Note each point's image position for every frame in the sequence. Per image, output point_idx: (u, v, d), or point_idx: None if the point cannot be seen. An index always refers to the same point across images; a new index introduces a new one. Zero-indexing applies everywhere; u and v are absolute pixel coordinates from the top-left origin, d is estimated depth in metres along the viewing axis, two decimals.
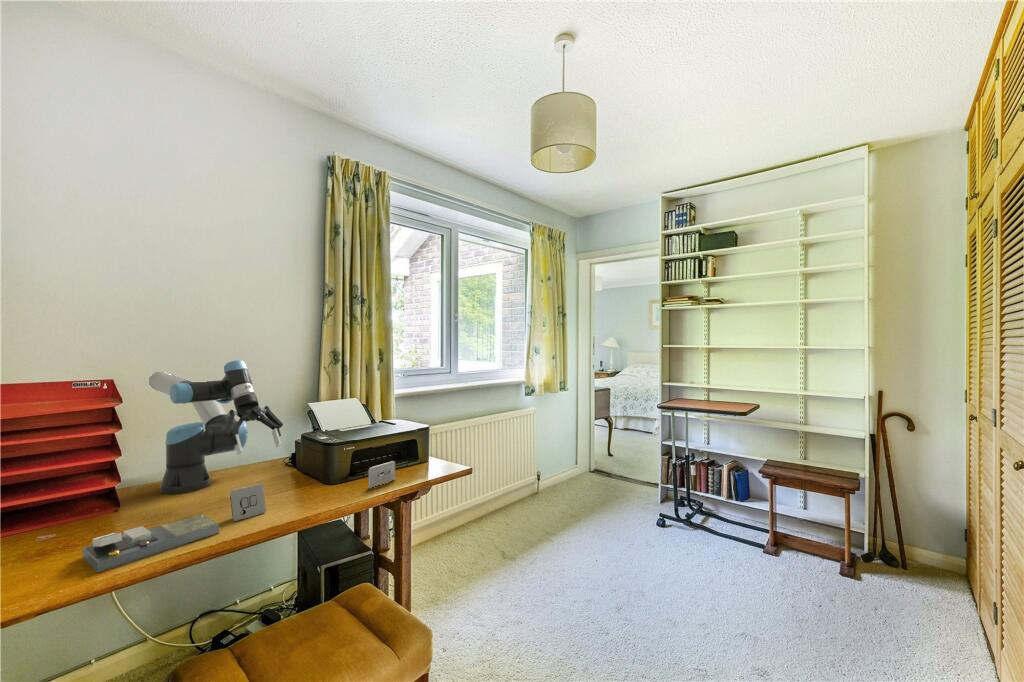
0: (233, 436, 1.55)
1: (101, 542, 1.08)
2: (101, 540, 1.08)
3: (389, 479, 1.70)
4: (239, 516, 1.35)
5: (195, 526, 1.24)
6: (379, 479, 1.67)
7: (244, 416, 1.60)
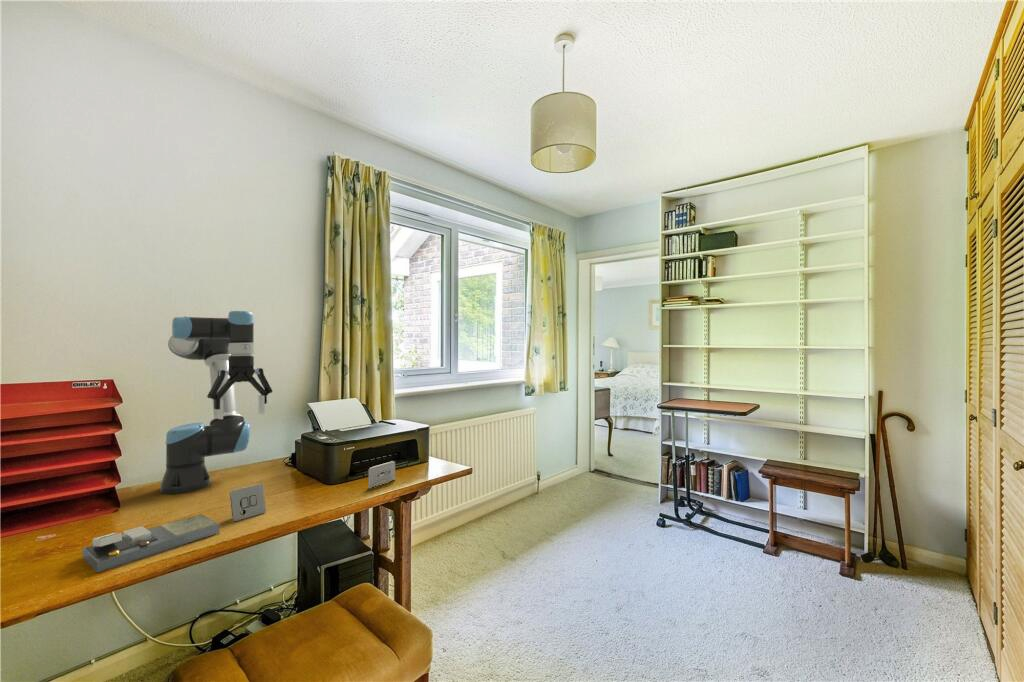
0: (217, 400, 1.47)
1: (101, 542, 1.08)
2: (101, 540, 1.08)
3: (389, 479, 1.70)
4: (239, 516, 1.35)
5: (195, 526, 1.24)
6: (379, 479, 1.67)
7: (234, 379, 1.50)
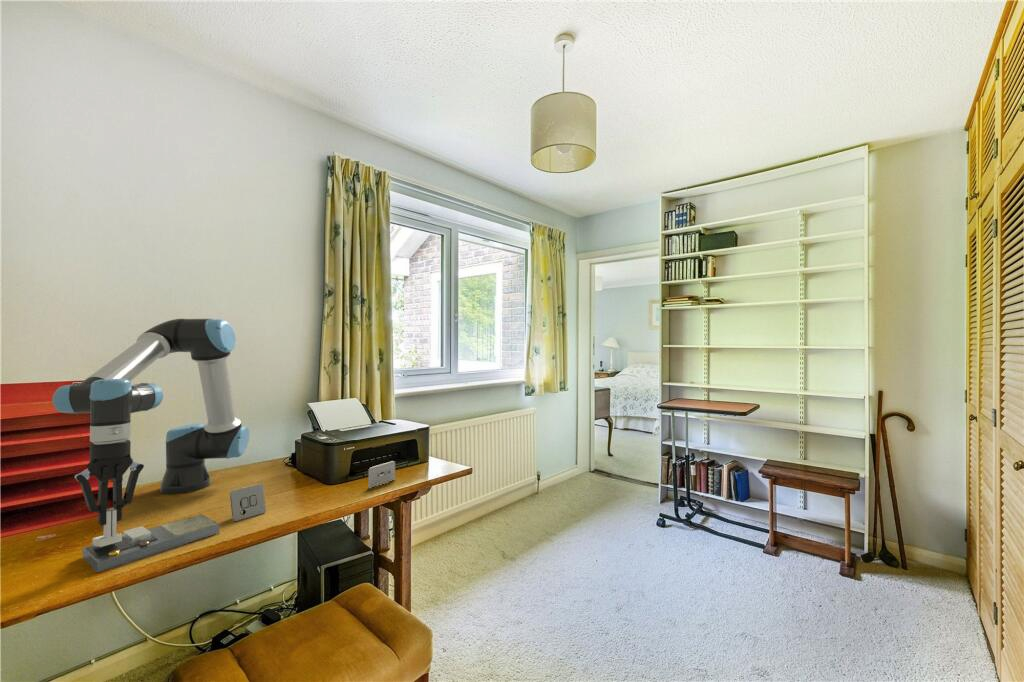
0: (106, 512, 1.08)
1: (101, 543, 1.08)
2: (101, 541, 1.08)
3: (389, 479, 1.70)
4: (239, 516, 1.35)
5: (195, 526, 1.24)
6: (379, 479, 1.67)
7: (105, 479, 1.08)
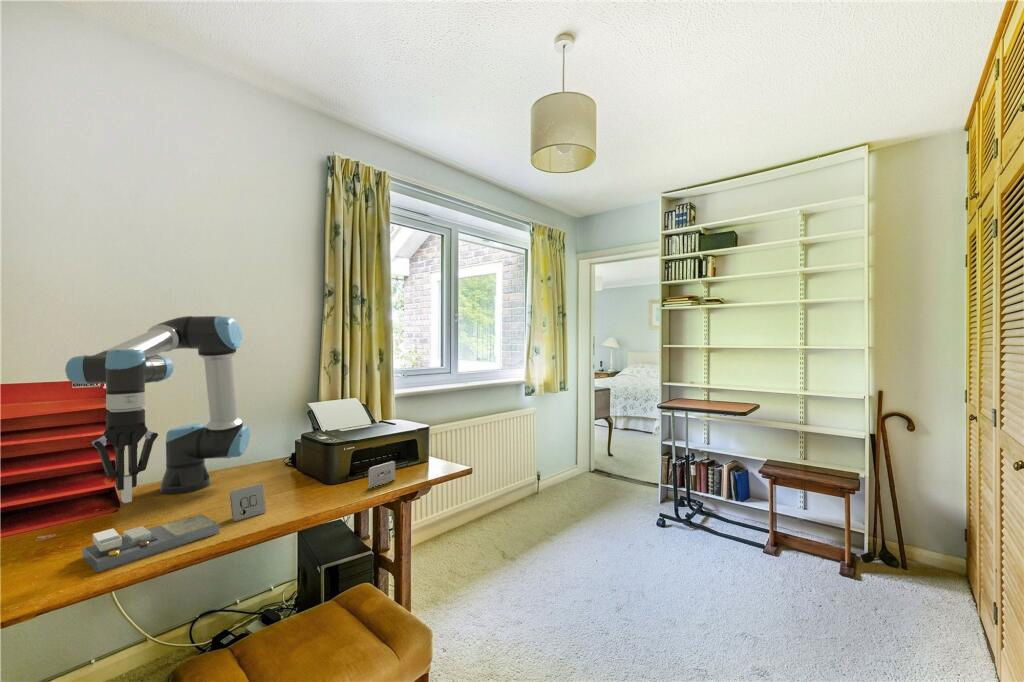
0: (123, 477, 1.12)
1: (101, 547, 1.08)
2: (101, 546, 1.08)
3: (389, 479, 1.70)
4: (239, 516, 1.35)
5: (195, 526, 1.24)
6: (379, 479, 1.67)
7: (122, 446, 1.11)
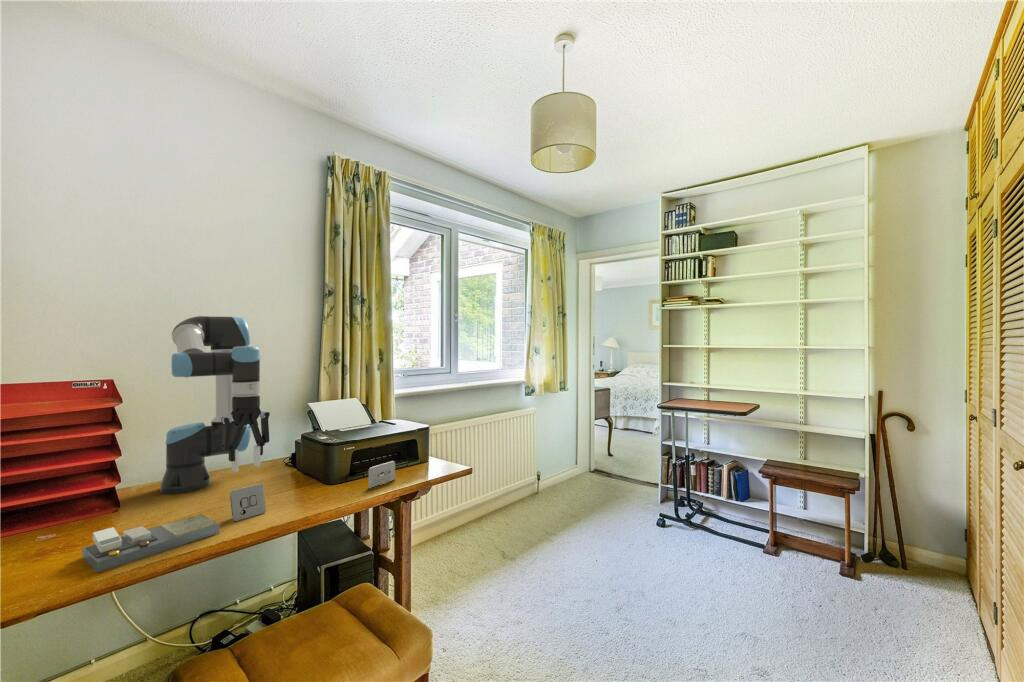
0: (234, 451, 1.35)
1: (101, 549, 1.08)
2: (101, 547, 1.08)
3: (389, 479, 1.70)
4: (239, 516, 1.35)
5: (195, 526, 1.24)
6: (379, 479, 1.67)
7: (242, 424, 1.36)
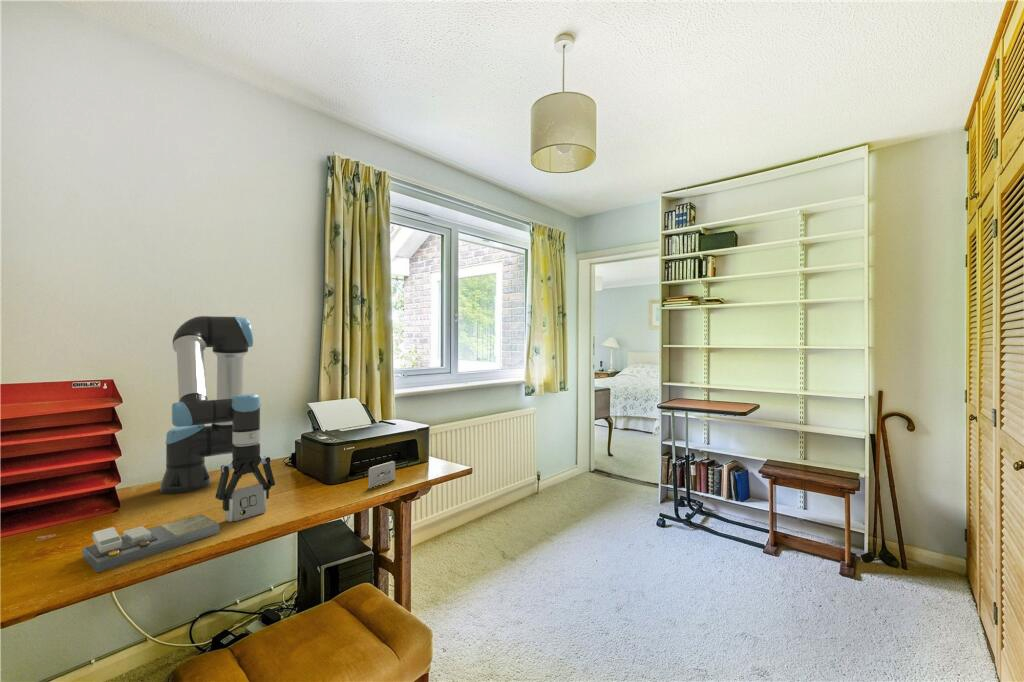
0: (227, 501, 1.33)
1: (101, 549, 1.08)
2: (101, 548, 1.08)
3: (389, 479, 1.70)
4: (239, 516, 1.34)
5: (195, 526, 1.24)
6: (379, 479, 1.67)
7: (240, 473, 1.35)
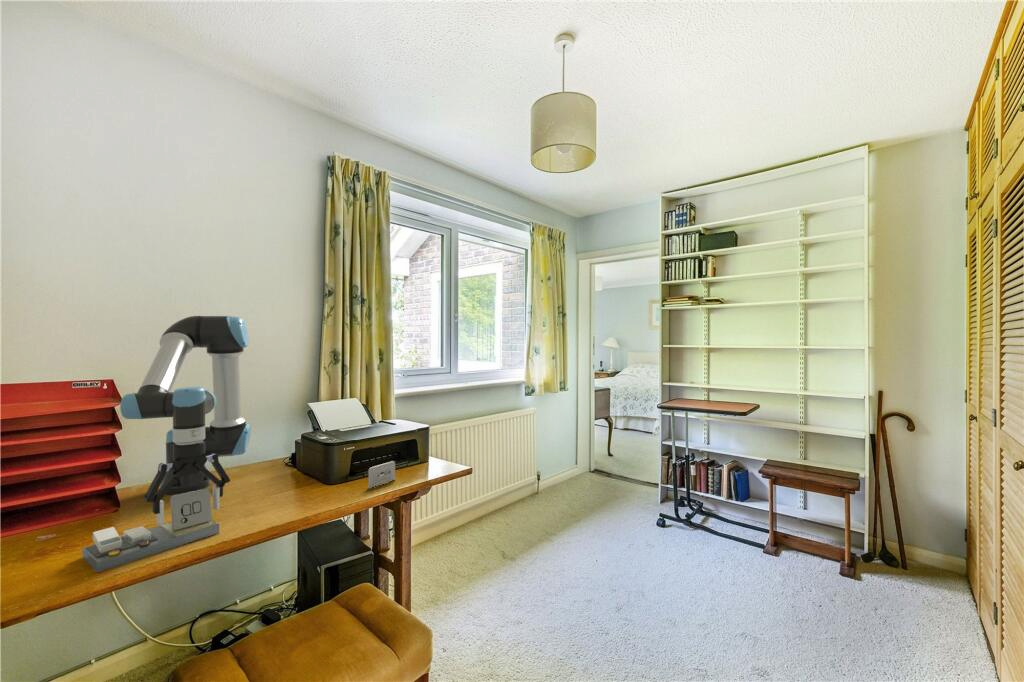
0: (156, 503, 1.18)
1: (101, 549, 1.08)
2: (101, 548, 1.08)
3: (389, 479, 1.70)
4: (179, 525, 1.21)
5: (195, 526, 1.24)
6: (379, 479, 1.67)
7: (179, 474, 1.22)
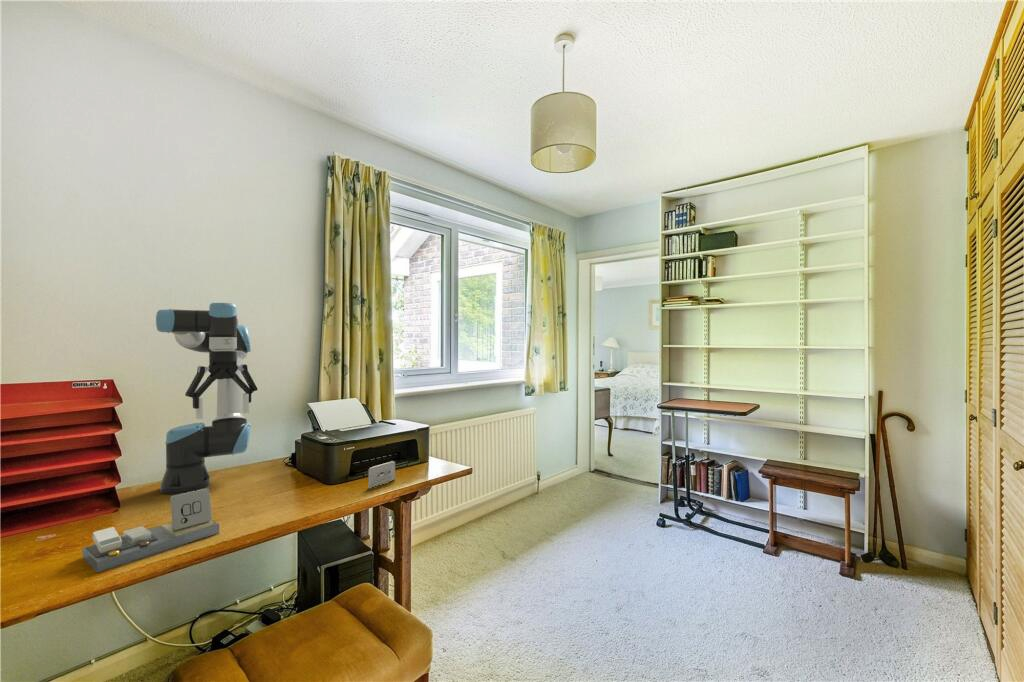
0: (196, 399, 1.36)
1: (101, 549, 1.08)
2: (101, 548, 1.08)
3: (389, 479, 1.70)
4: (179, 525, 1.21)
5: (195, 526, 1.24)
6: (379, 479, 1.67)
7: (215, 377, 1.40)
